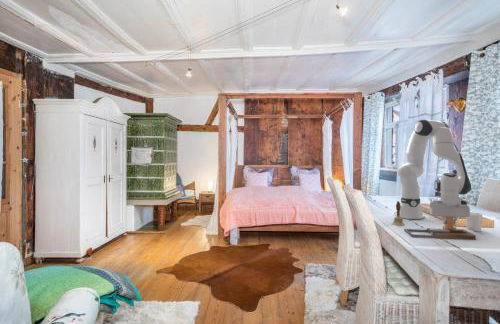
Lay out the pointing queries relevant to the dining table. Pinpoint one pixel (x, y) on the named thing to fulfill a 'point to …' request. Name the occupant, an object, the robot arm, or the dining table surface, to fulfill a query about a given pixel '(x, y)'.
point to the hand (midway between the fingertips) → (449, 224)
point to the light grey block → (444, 231)
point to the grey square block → (434, 231)
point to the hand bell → (398, 216)
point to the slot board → (455, 234)
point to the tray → (418, 231)
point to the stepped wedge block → (449, 223)
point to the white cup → (474, 221)
